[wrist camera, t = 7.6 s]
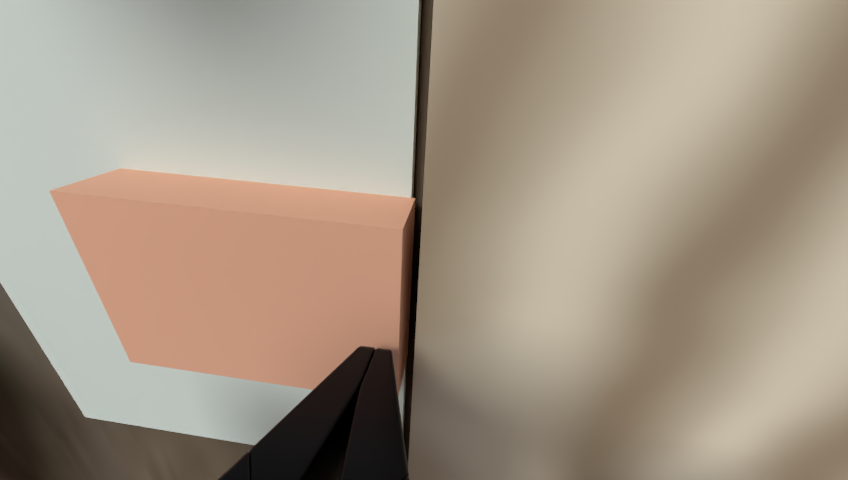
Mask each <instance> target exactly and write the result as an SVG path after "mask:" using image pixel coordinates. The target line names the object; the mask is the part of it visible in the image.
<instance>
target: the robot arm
mask: <svg viewBox="0 0 848 480" xmlns="http://www.w3.org/2000/svg"><path fill="white" fill-rule="evenodd" d="M218 480H410V479H409V472H408V464H407V457H406V450H405V443H404V435H403V428H402V421H401V414H400V406H399V399H398V392H397V385H396V377H395V370H394V363H393V355H392V351H391V350H390V349H383V348H377V349H375V348H374V347H368V346H359V347H358V348H357V349H356V350H355V351H354V352H353V353H352V354H350V355H349V356H348V357H347V358H346V359H345V360H344V361H343V362H342V363H341V364H340V365H339V366H338V367H337V368H336V369H335V370H334V371H332V372H331V373H330V374H329V375H328V376H327V377H326V378H325V379H324V380H323V381H322V382H321V383H320V384H319V385H318V386H317V387H316V388H315V389H313V390H312V391H311V392H310V393H309V394H308V395H307V396H306V397H305V398H304V399H303V400H302V401H301V402H300V403H299V404H298V405H297V406H296V407H294V408H293V409H292V410H291V411H290V412H289V413H288V414H287V415H286V416H285V417H284V418H283V419H282V420H281V421H280V422H279V423H278V424H277V425H275V426H274V427H273V428H272V429H271V430H270V431H269V432H268V433H267V434H266V435H265V436H264V437H263V438H262V439H261V440H260V441H259V442H258V443H256V444H255V445H254V446H253V447H252V448H251V449H250V452H247V453H246V454H245V455H244V456H243V457H241V458H240V459H239V460H238V461H237V462H236V463H235V464H234V465H233V466H232V467H231V468H230V469H229V470H228V471H226V472H225V473H224V474H223V475H222V476H221V477H220V478H219V479H218Z"/></svg>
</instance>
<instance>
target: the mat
mask: <svg viewBox="0 0 848 480" xmlns="http://www.w3.org/2000/svg"><path fill="white" fill-rule="evenodd" d="M420 24H421V0H0V283H1V284H2V286H3V287H4V289H5V291H6V292H7V294H8V295H9V297H10V299H11V300H12V302H13V303H14V305H15V306H16V308H17V310H18V311H19V313H20V314H21V316H22V318H23V319H24V321H25V322H26V324H27V326H28V327H29V329H30V330H31V332H32V333H33V335H34V337H35V338H36V340H37V341H38V343H39V345H40V346H41V348H42V349H43V351H44V352H45V354H46V356H47V357H48V359H49V360H50V362H51V364H52V365H53V367H54V368H55V370H56V372H57V373H58V375H59V376H60V378H61V379H62V381H63V383H64V384H65V386H66V387H67V389H68V391H69V392H70V394H71V395H72V397H73V399H74V400H75V402H76V403H77V405H78V406H79V408H80V410H81V411H82V413H83V414H84V416H85V417H88V418H94V419H100V420H106V421H112V422H118V423H124V424H130V425H136V426H142V427H148V428H154V429H160V430H166V431H172V432H178V433H184V434H190V435H196V436H202V437H208V438H214V439H220V440H226V441H232V442H238V443H244V444H250V445H255V444H256V443H258V442H259V441H260V440H261V439H262V438H263V437H264V436H265V435H266V434H267V433H268V432H269V431H270V430H271V429H272V428H273V427H274V426H275V425H277V424H278V423H279V422H280V421H281V420H282V419H283V418H284V417H285V416H286V415H287V414H288V413H289V412H290V411H291V410H292V409H293V408H294V407H296V406H297V405H298V404H299V403H300V402H301V401H302V400H303V399H304V398H305V397H306V396H307V395H308V394H309V393H310V392H311V391H312V389H305V388H298V387H292V386H285V385H279V384H272V383H266V382H259V381H252V380H246V379H239V378H233V377H226V376H220V375H213V374H207V373H200V372H193V371H187V370H180V369H174V368H167V367H161V366H154V365H148V364H141V363H134V362H130V360H129V358H128V356H127V354H126V352H125V350H124V348H123V346H122V343H121V341H120V339H119V337H118V335H117V333H116V331H115V329H114V327H113V324H112V322H111V320H110V318H109V316H108V314H107V312H106V310H105V308H104V305H103V303H102V301H101V299H100V297H99V295H98V293H97V291H96V289H95V286H94V284H93V282H92V280H91V278H90V276H89V274H88V272H87V270H86V267H85V265H84V263H83V261H82V259H81V257H80V255H79V253H78V251H77V248H76V246H75V244H74V242H73V240H72V238H71V236H70V234H69V232H68V230H67V227H66V225H65V223H64V221H63V219H62V217H61V215H60V213H59V211H58V208H57V206H56V204H55V202H54V200H53V198H52V196H51V194H50V192H49V191H50V190H53V189H56V188H59V187H62V186H66V185H69V184H72V183H75V182H78V181H81V180H85V179H88V178H91V177H94V176H97V175H100V174H104V173H107V172H110V171H113V170H116V169H119V168H122V169H132V170H142V171H152V172H162V173H172V174H182V175H191V176H201V177H211V178H221V179H231V180H241V181H250V182H260V183H270V184H280V185H290V186H300V187H310V188H319V189H329V190H339V191H349V192H359V193H369V194H379V195H388V196H398V197H408V198H413V194H414V170H415V146H416V121H417V97H418V73H419V49H420ZM406 364H407V360H406ZM405 388H406V365H405V369H404V373H403V378H402V382H401V387H400V391H399V396H398V399H399V406H400V414H401V421H402V428H403V435H404V412H405Z"/></svg>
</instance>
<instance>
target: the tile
mask: <svg viewBox="0 0 848 480" xmlns="http://www.w3.org/2000/svg"><path fill="white" fill-rule="evenodd" d="M49 192H50V194H51V196H52V198H53V200H54V202H55V204H56V206H57V208H58V211H59V213H60V215H61V217H62V219H63V221H64V223H65V225H66V227H67V230H68V232H69V234H70V236H71V238H72V240H73V242H74V244H75V246H76V248H77V251H78V253H79V255H80V257H81V259H82V261H83V263H84V265H85V267H86V270H87V272H88V274H89V276H90V278H91V280H92V282H93V284H94V286H95V289H96V291H97V293H98V295H99V297H100V299H101V301H102V303H103V305H104V308H105V310H106V312H107V314H108V316H109V318H110V320H111V322H112V324H113V327H114V329H115V331H116V333H117V335H118V337H119V339H120V341H121V343H122V346H123V348H124V350H125V352H126V354H127V356H128V358H129V360H130V362H134V363H141V364H148V365H154V366H161V367H167V368H174V369H180V370H187V371H193V372H200V373H207V374H213V375H220V376H226V377H233V378H239V379H246V380H252V381H259V382H266V383H272V384H279V385H285V386H292V387H298V388H305V389H312V390H313V389H315V388H316V387H317V386H318V385H319V384H320V383H321V382H322V381H323V380H324V379H325V378H326V377H327V376H328V375H329V374H330V373H331V372H332V371H334V370H335V369H336V368H337V367H338V366H339V365H340V364H341V363H342V362H343V361H344V360H345V359H346V358H347V357H348V356H349V355H350V354H352V353H353V352H354V351H355V350H356V349H357V348H358V347H359V346H368V347H374V348H375V349H377V348H383V349H390V350H391V351H392V355H393V363H394V370H395V377H396V385H397V392H398V396H399V391H400V387H401V382H402V378H403V373H404V369H405V365H406V360H407V356H408V340H409V320H410V300H411V280H412V260H413V240H414V219H415V199H416V198H408V197H398V196H388V195H379V194H369V193H359V192H349V191H339V190H329V189H319V188H310V187H300V186H290V185H280V184H270V183H260V182H250V181H241V180H231V179H221V178H211V177H201V176H191V175H182V174H172V173H162V172H152V171H142V170H132V169H122V168H119V169H116V170H113V171H110V172H107V173H104V174H100V175H97V176H94V177H91V178H88V179H85V180H81V181H78V182H75V183H72V184H69V185H66V186H62V187H59V188H56V189H53V190H50V191H49Z"/></svg>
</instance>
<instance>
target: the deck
mask: <svg viewBox="0 0 848 480" xmlns="http://www.w3.org/2000/svg"><path fill="white" fill-rule="evenodd" d="M408 472H409V479H410V480H848V0H434V5H433V23H432V41H431V59H430V77H429V96H428V114H427V132H426V150H425V168H424V187H423V205H422V223H421V241H420V259H419V278H418V296H417V314H416V332H415V350H414V368H413V387H412V405H411V423H410V441H409V459H408Z"/></svg>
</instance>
